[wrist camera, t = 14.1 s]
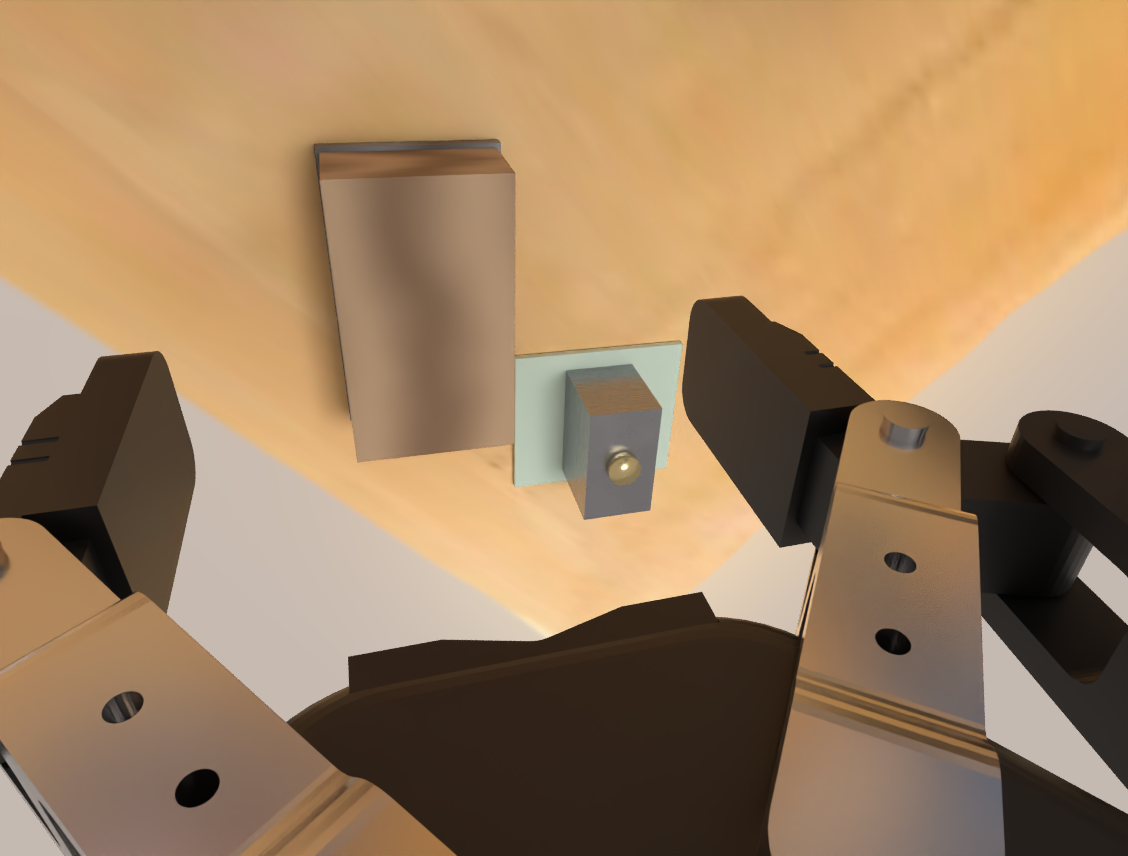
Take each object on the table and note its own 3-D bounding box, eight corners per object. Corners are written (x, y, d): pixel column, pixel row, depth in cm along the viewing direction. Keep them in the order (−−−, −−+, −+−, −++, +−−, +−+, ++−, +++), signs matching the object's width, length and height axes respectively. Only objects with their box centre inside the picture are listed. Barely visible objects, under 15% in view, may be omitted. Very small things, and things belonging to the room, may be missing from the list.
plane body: (497, 139, 37) (519, 168, 33) (500, 398, 45) (518, 447, 41) (314, 143, 35) (313, 175, 31) (350, 413, 43) (353, 466, 39)
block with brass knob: (632, 363, 46) (666, 414, 41) (623, 460, 49) (653, 516, 45) (565, 370, 45) (593, 422, 40) (562, 469, 49) (587, 526, 44)
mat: (680, 340, 46) (682, 343, 46) (663, 464, 51) (666, 467, 51) (513, 355, 44) (515, 358, 43) (513, 483, 49) (514, 487, 48)
